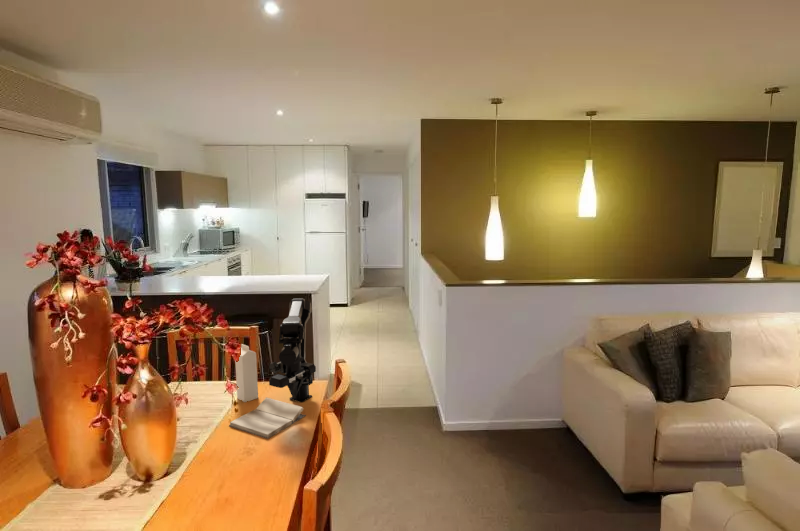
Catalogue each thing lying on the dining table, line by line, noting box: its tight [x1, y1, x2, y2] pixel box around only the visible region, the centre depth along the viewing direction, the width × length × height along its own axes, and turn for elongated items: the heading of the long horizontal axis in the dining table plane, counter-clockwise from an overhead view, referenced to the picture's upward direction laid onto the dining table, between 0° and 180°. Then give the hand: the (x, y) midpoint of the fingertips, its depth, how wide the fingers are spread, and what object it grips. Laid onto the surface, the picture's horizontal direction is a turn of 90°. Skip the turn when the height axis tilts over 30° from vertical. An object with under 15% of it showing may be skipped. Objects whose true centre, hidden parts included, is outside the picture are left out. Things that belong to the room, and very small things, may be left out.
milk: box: [234, 343, 259, 403], centre depth 182 cm, size 6×6×22 cm
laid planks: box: [229, 409, 293, 439], centre depth 161 cm, size 12×18×1 cm, turn 61°
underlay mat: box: [228, 413, 306, 439], centre depth 164 cm, size 19×18×1 cm
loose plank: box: [255, 397, 304, 422], centre depth 169 cm, size 6×18×1 cm, turn 61°
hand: (294, 397), depth 166 cm, fingers closed
